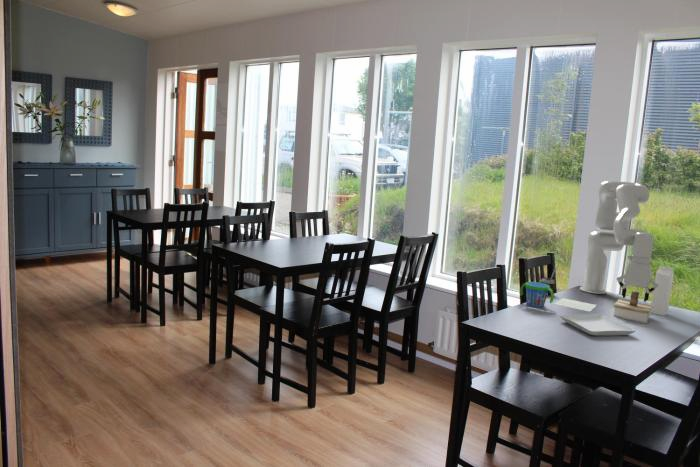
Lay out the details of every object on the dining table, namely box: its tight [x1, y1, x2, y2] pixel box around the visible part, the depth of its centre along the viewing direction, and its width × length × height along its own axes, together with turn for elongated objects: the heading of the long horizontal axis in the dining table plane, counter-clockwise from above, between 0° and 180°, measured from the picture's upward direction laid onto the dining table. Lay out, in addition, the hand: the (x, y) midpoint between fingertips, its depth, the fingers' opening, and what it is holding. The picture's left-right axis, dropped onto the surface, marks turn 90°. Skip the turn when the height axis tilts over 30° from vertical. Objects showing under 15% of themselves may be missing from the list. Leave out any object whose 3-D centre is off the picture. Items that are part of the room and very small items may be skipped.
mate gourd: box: [539, 264, 560, 296], centre depth 290 cm, size 8×8×15 cm
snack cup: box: [519, 281, 555, 308], centre depth 266 cm, size 16×10×10 cm
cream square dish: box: [613, 307, 651, 325], centre depth 260 cm, size 13×13×4 cm
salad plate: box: [559, 313, 637, 336], centre depth 238 cm, size 21×21×3 cm
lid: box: [613, 290, 653, 314], centre depth 260 cm, size 14×14×7 cm
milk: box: [650, 265, 675, 317], centre depth 270 cm, size 6×6×22 cm
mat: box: [553, 297, 597, 312], centre depth 273 cm, size 16×16×1 cm
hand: (634, 299), depth 259 cm, fingers open, 8 cm apart
